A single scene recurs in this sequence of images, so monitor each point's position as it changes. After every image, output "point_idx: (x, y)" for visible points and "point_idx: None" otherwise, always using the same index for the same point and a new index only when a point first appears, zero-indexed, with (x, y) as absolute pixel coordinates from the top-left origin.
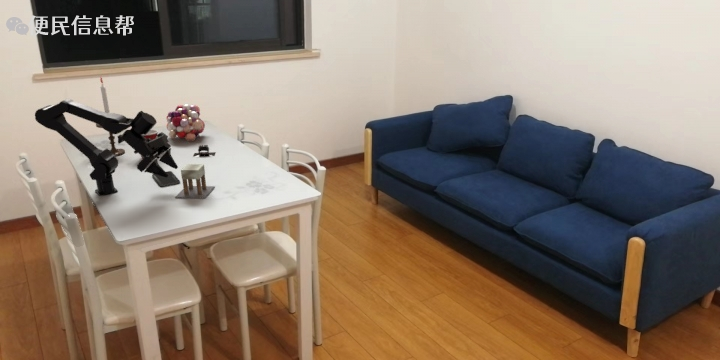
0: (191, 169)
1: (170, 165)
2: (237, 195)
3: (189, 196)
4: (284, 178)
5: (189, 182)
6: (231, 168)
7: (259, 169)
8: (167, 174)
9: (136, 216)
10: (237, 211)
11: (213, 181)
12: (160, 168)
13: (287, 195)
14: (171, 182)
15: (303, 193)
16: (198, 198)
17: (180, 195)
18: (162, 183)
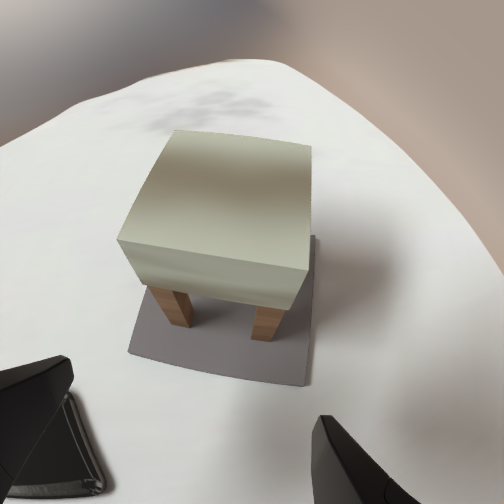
0: (294, 183)
1: (42, 422)
2: None
3: (303, 307)
4: (163, 84)
5: (184, 305)
6: (8, 197)
7: (63, 131)
8: (331, 421)
9: (479, 460)
10: (399, 154)
11: (94, 232)
12: (397, 485)
13: (284, 80)
14: (62, 432)
15: (273, 67)
16: (312, 266)
17: (285, 360)
18: (73, 478)
